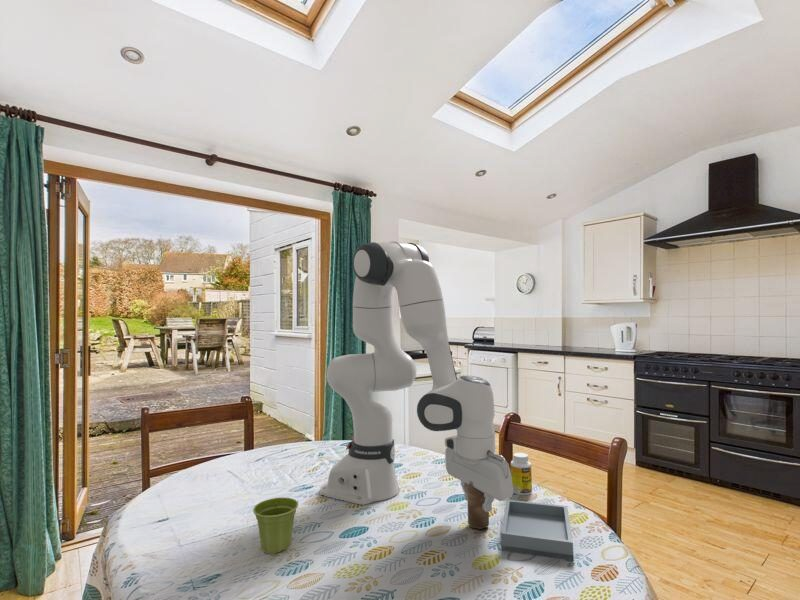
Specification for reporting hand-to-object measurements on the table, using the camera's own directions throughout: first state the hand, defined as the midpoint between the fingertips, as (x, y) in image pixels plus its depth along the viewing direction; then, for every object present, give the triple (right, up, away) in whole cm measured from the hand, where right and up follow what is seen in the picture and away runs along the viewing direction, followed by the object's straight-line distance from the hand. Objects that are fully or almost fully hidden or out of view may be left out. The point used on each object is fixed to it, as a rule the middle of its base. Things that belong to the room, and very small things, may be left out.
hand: (477, 505), depth 100 cm
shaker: (0, -4, 0) cm, 4 cm away
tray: (+12, -4, -5) cm, 14 cm away
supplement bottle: (+16, -5, +19) cm, 25 cm away
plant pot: (-45, -6, -7) cm, 46 cm away
